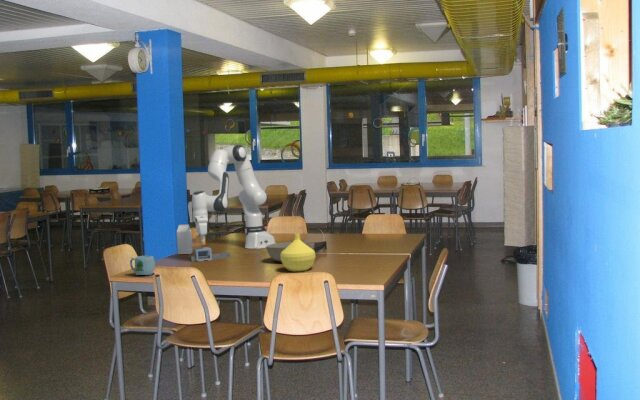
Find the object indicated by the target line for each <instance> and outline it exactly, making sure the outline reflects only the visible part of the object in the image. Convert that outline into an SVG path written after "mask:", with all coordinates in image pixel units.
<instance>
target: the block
mask: <svg viewBox="0 0 640 400" xmlns="http://www.w3.org/2000/svg"><path fill="white" fill-rule="evenodd" d="M195 244H196V245H197V246H199V245H201V246H202V245H206V235H204V242H201V235H199V234H198V235H195Z"/></svg>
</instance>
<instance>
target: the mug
mask: <svg viewBox="0 0 640 400" xmlns="http://www.w3.org/2000/svg"><path fill="white" fill-rule="evenodd" d="M133 261H134V267H133ZM129 266H130V269H131V270H132V271H133V272H134V273H135V275H136V276H137V275H149V276H153V275H154V274H153V269H154V268H155V267H156V262H155V258H154V256H153V255H147V254H146V255H139V256H136V257H131V259H130V261H129ZM152 274H153V275H152Z"/></svg>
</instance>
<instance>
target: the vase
mask: <svg viewBox="0 0 640 400" xmlns="http://www.w3.org/2000/svg"><path fill="white" fill-rule="evenodd" d="M300 235H301V234H300V233H299V232H298V233H297V232H296V233H294V234H293V241H291V242H292V243H291V244H290V245H289V246H288V247H287V248H286V249H284V250H283V251H282V252H281V255H280V257H281V261H282V262H281V264H282V265H283V267H284V268H286V270H287V271H289V272H293V273H294V272H297V273H298V272H306V271H308V270H309V269H310V268H311V267H312V266H313V265H314V262H315V260H316V251H315V250H314V249H311V248H310V247H309V246H307V245H306V244H304V243H303V242H304V241H302V239H301V238H300Z"/></svg>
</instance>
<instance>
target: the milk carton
mask: <svg viewBox="0 0 640 400" xmlns="http://www.w3.org/2000/svg"><path fill="white" fill-rule="evenodd" d="M192 236H193V234H192V229H191V227H190V224H178V227H177V230H176V239H177V240H176V241H177V254H178V256H179V254H189V255H190V254H193V253H194V248H193V239H192V238H193V237H192Z"/></svg>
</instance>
